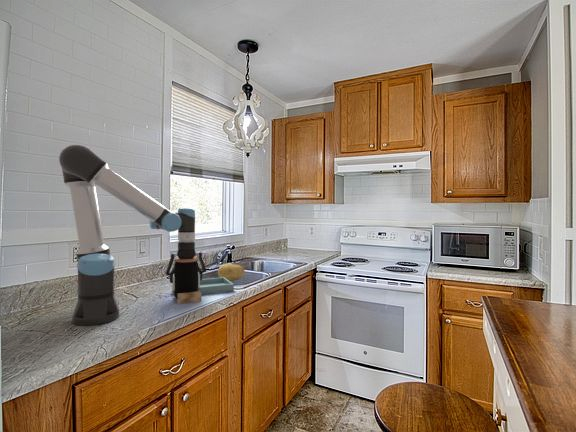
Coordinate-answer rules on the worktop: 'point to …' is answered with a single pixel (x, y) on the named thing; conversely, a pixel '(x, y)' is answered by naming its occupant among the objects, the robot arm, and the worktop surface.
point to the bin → (215, 285)
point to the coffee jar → (186, 275)
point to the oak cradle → (188, 297)
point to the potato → (231, 271)
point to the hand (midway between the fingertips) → (186, 288)
